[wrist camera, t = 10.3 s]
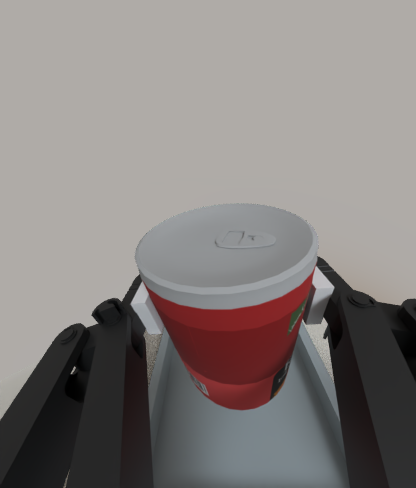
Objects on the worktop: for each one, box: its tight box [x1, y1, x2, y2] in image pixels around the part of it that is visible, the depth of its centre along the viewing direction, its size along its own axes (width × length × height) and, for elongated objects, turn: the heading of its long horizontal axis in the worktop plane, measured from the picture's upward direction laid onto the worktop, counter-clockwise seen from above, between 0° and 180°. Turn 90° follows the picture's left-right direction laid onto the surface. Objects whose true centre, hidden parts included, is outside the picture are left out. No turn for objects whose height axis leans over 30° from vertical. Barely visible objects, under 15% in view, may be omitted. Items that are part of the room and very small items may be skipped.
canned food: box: [135, 204, 318, 411], centre depth 10 cm, size 8×8×11 cm
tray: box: [148, 322, 350, 488], centre depth 17 cm, size 18×18×4 cm
